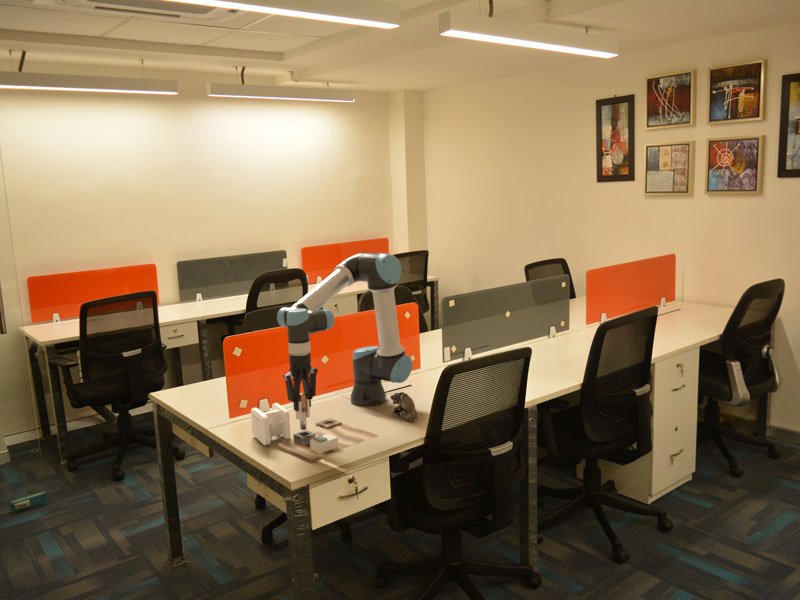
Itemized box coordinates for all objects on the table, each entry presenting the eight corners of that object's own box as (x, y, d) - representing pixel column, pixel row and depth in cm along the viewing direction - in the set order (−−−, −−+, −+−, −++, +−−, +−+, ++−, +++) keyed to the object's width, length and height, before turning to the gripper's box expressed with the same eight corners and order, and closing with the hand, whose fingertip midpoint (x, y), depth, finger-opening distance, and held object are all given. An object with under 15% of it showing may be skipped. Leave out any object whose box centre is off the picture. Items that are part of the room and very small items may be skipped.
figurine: (402, 411, 279) (402, 388, 278) (421, 421, 267) (420, 396, 265) (389, 414, 276) (388, 390, 275) (407, 424, 264) (406, 399, 262)
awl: (304, 427, 247) (302, 392, 245) (309, 428, 245) (307, 393, 243) (298, 429, 245) (296, 393, 243) (302, 430, 243) (300, 395, 241)
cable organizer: (292, 442, 249) (290, 411, 247) (264, 449, 244) (262, 417, 242) (277, 430, 262) (276, 401, 260) (250, 436, 257) (248, 406, 255)
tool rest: (330, 423, 268) (330, 418, 268) (341, 427, 263) (341, 422, 263) (316, 427, 264) (315, 422, 263) (327, 432, 259) (327, 427, 258)
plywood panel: (344, 426, 265) (343, 415, 264) (378, 438, 250) (378, 427, 250) (278, 447, 244) (277, 436, 244) (311, 462, 230) (310, 451, 229)
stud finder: (328, 443, 244) (328, 432, 243) (338, 447, 240) (337, 435, 239) (310, 449, 239) (309, 438, 238) (319, 453, 235) (319, 442, 234)
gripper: (311, 347, 249) (314, 410, 253) (274, 355, 238) (278, 420, 242) (324, 350, 243) (327, 414, 247) (286, 359, 233) (290, 425, 236)
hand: (303, 417), depth 244 cm, fingers closed on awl, 3 cm apart
